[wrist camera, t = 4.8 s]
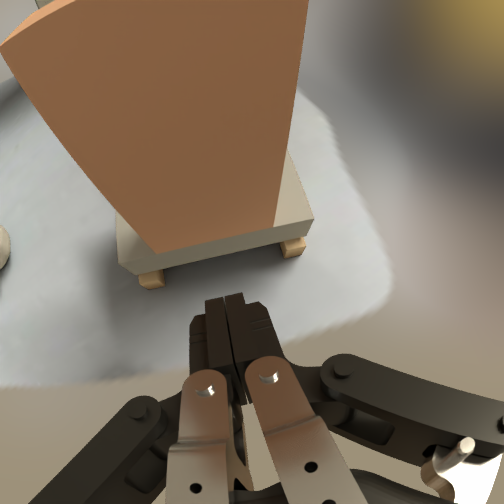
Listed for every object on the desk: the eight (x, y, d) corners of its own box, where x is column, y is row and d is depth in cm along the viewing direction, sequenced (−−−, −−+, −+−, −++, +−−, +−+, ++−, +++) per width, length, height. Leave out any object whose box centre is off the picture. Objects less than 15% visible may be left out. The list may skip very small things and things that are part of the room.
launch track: (301, 254, 18) (306, 245, 17) (148, 289, 17) (139, 284, 16) (244, 92, 23) (244, 79, 22) (138, 116, 22) (133, 104, 21)
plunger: (302, 244, 18) (406, -18, 3) (143, 280, 17) (-60, 102, 2) (262, 130, 21) (270, -65, 6) (135, 159, 20) (54, -15, 5)
